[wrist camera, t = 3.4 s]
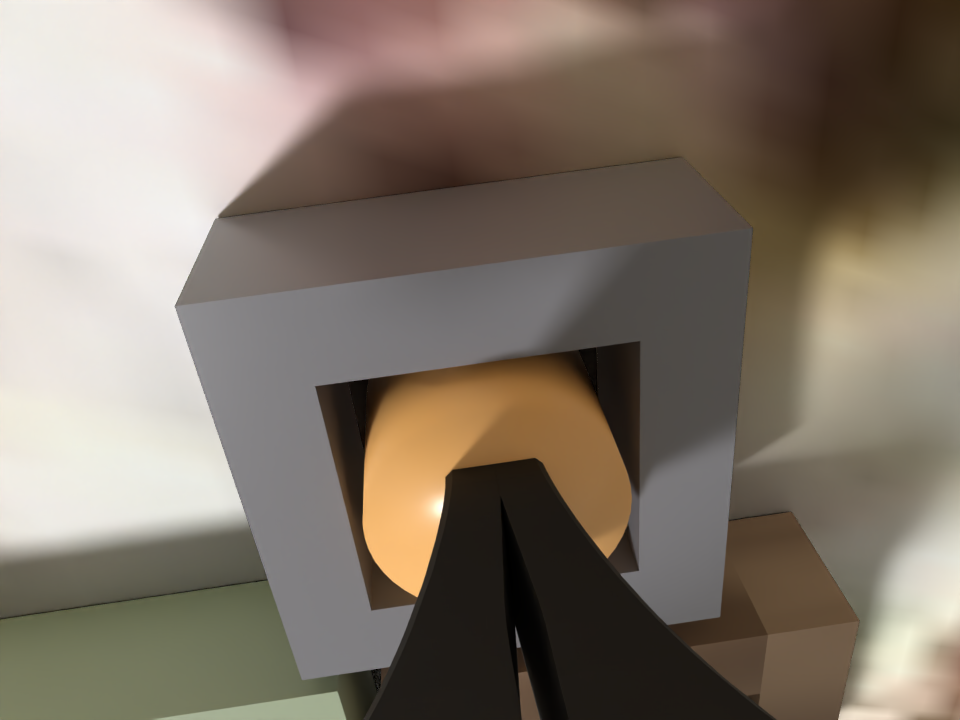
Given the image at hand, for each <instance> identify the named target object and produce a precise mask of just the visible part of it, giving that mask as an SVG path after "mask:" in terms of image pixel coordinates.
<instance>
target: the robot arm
mask: <svg viewBox="0 0 960 720" xmlns="http://www.w3.org/2000/svg"><path fill="white" fill-rule="evenodd" d="M515 627H516V629H515ZM516 631H517V634H518V638H519V642H520V646H521V650H522V653H523V657H524V661H525V665H526V668H527V672H528V676H529V680H530V684H531V687H532V691H533V695H534V698H535V702H536V706H537V710H538V713H539V717H540V720H777V719H775V718H774V717H773V716H772V715H770V714H769V713H768V712H767V711H765V710H764V709H763V708H761V707H760V706H759V705H758V704H756V703H755V702H754V701H753V700H751V699H750V698H749V697H748V696H746V695H745V694H744V693H743V692H741V691H740V690H739V689H738V688H736V687H735V686H734V685H733V684H731V683H730V682H729V681H728V680H726V679H725V678H724V677H723V676H722V675H721V674H719V673H718V672H717V671H716V670H715V669H714V668H713V667H712V666H711V665H709V664H708V663H707V662H706V661H705V660H704V659H703V658H702V657H701V656H699V655H698V654H697V653H696V652H695V651H694V650H693V649H692V648H691V647H690V646H689V645H687V644H686V643H685V642H684V641H683V640H682V639H681V638H680V637H679V636H678V635H677V634H676V633H675V632H674V631H673V630H672V629H671V628H670V627H669V626H668V625H667V624H666V623H665V622H664V621H663V620H662V619H661V618H660V617H659V616H658V615H657V614H656V613H655V612H654V611H653V610H652V609H651V608H650V607H649V606H648V605H647V603H646V602H645V601H644V600H643V599H642V598H641V597H640V596H639V595H638V594H637V592H636V591H635V590H634V589H633V588H632V587H631V586H630V585H629V584H628V582H627V581H626V580H625V579H624V578H623V577H622V576H621V574H620V573H619V572H618V571H617V570H616V568H615V567H614V566H613V565H612V564H611V563H610V561H609V560H608V559H607V558H606V556H605V555H604V554H603V552H602V551H601V550H600V549H599V547H598V546H597V545H596V544H595V542H594V541H593V540H592V538H591V537H590V536H589V535H588V533H587V532H586V531H585V529H584V528H583V527H582V525H581V524H580V522H579V521H578V520H577V518H576V517H575V515H574V514H573V512H572V511H571V510H570V508H569V507H568V505H567V504H566V502H565V501H564V499H563V498H562V496H561V494H560V493H559V491H558V490H557V488H556V486H555V485H554V483H553V481H552V480H551V478H550V476H549V474H548V472H547V470H546V468H545V466H544V464H543V463H542V462H541V461H539V460H538V459H536V458H530V459H523V460H517V461H510V462H503V463H496V464H489V465H482V466H475V467H468V468H461V469H454V470H452V471H451V472H450V473H449V474H448V475H447V476H446V477H445V494H444V502H443V508H442V513H441V518H440V523H439V527H438V531H437V536H436V540H435V543H434V547H433V550H432V554H431V557H430V561H429V564H428V567H427V571H426V574H425V578H424V581H423V584H422V587H421V590H420V592H419V595H418V598H417V600H416V603H415V606H414V608H413V611H412V614H411V617H410V619H409V622H408V625H407V627H406V630H405V633H404V635H403V637H402V640H401V642H400V645H399V647H398V649H397V652H396V654H395V656H394V658H393V661H392V663H391V665H390V667H389V669H388V672H387V674H386V676H385V678H384V680H383V682H382V684H381V686H380V688H379V691H378V693H377V695H376V697H375V699H374V700H373V702H372V704H371V706H370V708H369V710H368V712H367V714H366V716H365V718H364V719H363V720H522V717H521V704H520V689H519V674H518V659H517V644H516Z"/></svg>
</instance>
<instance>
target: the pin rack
mask: <svg viewBox="0 0 960 720" xmlns="http://www.w3.org/2000/svg"><path fill="white" fill-rule="evenodd" d="M376 695H377V690H376V686H375V683H374V679H373V675H372V671H371V670H366V671H360V672H353V673H347V674H340V675H333V676H327V677H320V678H313V679H307V680H302V679H301V676H300V673H299V670H298V667H297V664H296V661H295V658H294V655H293V652H292V649H291V646H290V643H289V641H288V638H287V635H286V632H285V629H284V626H283V623H282V620H281V617H280V614H279V611H278V608H277V605H276V602H275V599H274V596H273V593H272V591H271V588H270V585H269V582H268V580H266V581H259V582H252V583H246V584H239V585H232V586H225V587H218V588H211V589H205V590H198V591H191V592H184V593H177V594H171V595H164V596H157V597H150V598H143V599H137V600H130V601H123V602H116V603H109V604H102V605H96V606H89V607H82V608H75V609H68V610H62V611H55V612H48V613H41V614H34V615H27V616H21V617H14V618H7V619H0V720H363V719H364V718H365V716H366V714H367V712H368V710H369V708H370V706H371V704H372V702H373V700H374V699H375V697H376Z"/></svg>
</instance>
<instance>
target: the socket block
mask: <svg viewBox="0 0 960 720" xmlns="http://www.w3.org/2000/svg"><path fill="white" fill-rule="evenodd" d="M859 622H860V621H859V619H858V617H857V616H856V614H855V613H854V611H853V609H852V608H851V606H850V605H849V603H848V601H847V600H846V598H845V597H844V595H843V593H842V592H841V590H840V589H839V587H838V585H837V584H836V582H835V581H834V579H833V577H832V576H831V574H830V573H829V571H828V569H827V568H826V566H825V564H824V563H823V561H822V560H821V558H820V556H819V555H818V553H817V552H816V550H815V548H814V547H813V545H812V544H811V542H810V540H809V539H808V537H807V536H806V534H805V532H804V531H803V529H802V528H801V526H800V524H799V523H798V521H797V520H796V518H795V516H794V515H793V513H792V512H787V513H780V514H773V515H766V516H759V517H753V518H746V519H739V520H732V521H728V531H727V542H726V554H725V566H724V578H723V590H722V602H721V614H720V617H717V618H711V619H704V620H698V621H691V622H684V623H678V624H671V625H668V626H669V627H670V628H671V629H672V630H673V631H674V632H675V633H676V634H677V635H678V636H679V637H680V638H681V639H682V640H683V641H684V642H685V643H686V644H687V645H689V646H690V647H691V648H692V649H693V650H694V651H695V652H696V653H697V654H698V655H699V656H701V657H702V658H703V659H704V660H705V661H706V662H707V663H708V664H709V665H711V666H712V667H713V668H714V669H715V670H716V671H717V672H718V673H719V674H721V675H722V676H723V677H724V678H725V679H726V680H728V681H729V682H730V683H731V684H733V685H734V686H735V687H736V688H738V689H739V690H740V691H741V692H743V693H744V694H745V695H746V696H748V697H749V698H750V699H751V700H753V701H754V702H755V703H756V704H758V705H759V706H760V707H761V708H763V709H764V710H765V711H767V712H768V713H769V714H770V715H772V716H773V717H774V718H775V719H777V720H838V717H839V713H840V708H841V704H842V699H843V695H844V690H845V686H846V681H847V676H848V672H849V667H850V663H851V658H852V654H853V649H854V645H855V640H856V636H857V631H858V627H859ZM517 659H518V674H519V689H520V704H521V717H522V720H540V717H539V713H538V710H537V706H536V702H535V698H534V695H533V691H532V687H531V684H530V680H529V676H528V672H527V668H526V665H525V661H524V657H523V653H522V650H521V647H519V648H517ZM388 669H389V667H386V668H381V684H382V682H383V680H384V678H385V676H386V674H387V672H388Z"/></svg>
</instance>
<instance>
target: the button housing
mask: <svg viewBox="0 0 960 720" xmlns="http://www.w3.org/2000/svg"><path fill="white" fill-rule="evenodd" d="M752 235H753V228H752V227H751V226H750V225H749V224H748V223H747V222H746V221H745V220H744V219H743V218H742V217H741V216H740V215H739V214H738V213H737V212H736V211H735V210H734V209H733V208H732V207H731V206H730V204H729V203H728V202H727V201H726V200H725V199H724V198H723V197H722V196H721V195H720V194H719V193H718V192H717V191H716V190H715V189H714V188H713V187H712V186H711V185H710V184H709V183H708V182H707V181H706V180H705V179H704V178H703V177H702V176H701V175H700V174H699V173H698V172H697V171H696V170H695V169H694V168H693V167H692V166H691V165H690V164H689V163H688V162H687V161H686V160H685V159H684V158H683V157H679V158H672V159H664V160H657V161H649V162H642V163H634V164H626V165H619V166H611V167H604V168H596V169H588V170H581V171H573V172H566V173H558V174H551V175H543V176H535V177H528V178H520V179H513V180H505V181H498V182H490V183H482V184H475V185H467V186H460V187H452V188H444V189H437V190H429V191H422V192H414V193H407V194H399V195H391V196H384V197H376V198H369V199H361V200H353V201H346V202H338V203H331V204H323V205H316V206H308V207H300V208H293V209H285V210H278V211H270V212H263V213H255V214H247V215H240V216H232V217H225V218H217V219H215V221H214V223H213V225H212V227H211V229H210V231H209V234H208V236H207V238H206V240H205V242H204V244H203V247H202V249H201V251H200V253H199V255H198V257H197V259H196V262H195V264H194V266H193V268H192V270H191V272H190V275H189V277H188V279H187V281H186V283H185V285H184V288H183V290H182V292H181V294H180V296H179V298H178V300H177V303H176V305H175V308H176V311H177V314H178V317H179V320H180V323H181V326H182V329H183V332H184V335H185V338H186V341H187V344H188V347H189V350H190V352H191V355H192V358H193V361H194V364H195V367H196V370H197V373H198V376H199V379H200V382H201V385H202V388H203V391H204V394H205V397H206V400H207V402H208V405H209V408H210V411H211V414H212V417H213V420H214V423H215V426H216V429H217V432H218V435H219V438H220V441H221V444H222V447H223V449H224V452H225V455H226V458H227V461H228V464H229V467H230V470H231V473H232V476H233V479H234V482H235V485H236V488H237V491H238V494H239V497H240V499H241V502H242V505H243V508H244V511H245V514H246V517H247V520H248V523H249V526H250V529H251V532H252V535H253V538H254V541H255V544H256V546H257V549H258V552H259V555H260V558H261V561H262V564H263V567H264V570H265V573H266V576H267V579H268V582H269V585H270V588H271V591H272V593H273V596H274V599H275V602H276V605H277V608H278V611H279V614H280V617H281V620H282V623H283V626H284V629H285V632H286V635H287V638H288V641H289V643H290V646H291V649H292V652H293V655H294V658H295V661H296V664H297V667H298V670H299V673H300V676H301V679H302V680H307V679H313V678H320V677H327V676H333V675H340V674H347V673H353V672H360V671H366V670H373V669H380V668H386V667H390V665H391V663H392V661H393V658H394V656H395V654H396V652H397V649H398V647H399V645H400V642H401V640H402V637H403V635H404V633H405V630H406V627H407V625H408V622H409V619H410V617H411V614H412V611H413V608H414V606H415V603H416V600H417V598H418V597H416V596H414V595H412V594H411V593H409V592H407V591H405V590H404V589H402V588H401V587H400V586H398V585H397V584H395V583H394V582H393V581H392V580H391V579H390V578H389V577H388V576H387V575H386V574H385V573H384V572H383V571H382V570H381V569H380V567H379V566H378V565H377V563H376V562H375V561H374V559H373V557H372V555H371V553H370V551H369V549H368V546H367V543H366V540H365V537H364V530H363V492H364V460H365V454H364V450H363V446H362V441H361V437H360V432H359V428H358V423H357V419H356V414H355V410H354V405H353V401H352V396H351V392H350V387H349V383H348V382H349V381H357V380H364V379H371V378H378V377H385V376H392V375H400V374H407V373H414V372H421V371H428V370H436V369H443V368H450V367H457V366H464V365H471V364H479V363H486V362H493V361H500V360H507V359H515V358H522V357H529V356H536V355H543V354H550V353H558V352H565V351H572V350H579V349H586V348H594V347H596V348H597V384H598V400H599V402H600V405H601V407H602V410H603V412H604V415H605V417H606V420H607V422H608V425H609V427H610V430H611V433H612V435H613V438H614V440H615V443H616V445H617V448H618V450H619V453H620V455H621V458H622V460H623V463H624V465H625V468H626V470H627V473H628V477H629V481H630V484H631V494H632V503H631V513H630V516H629V520H628V524H627V527H626V529H625V532H624V534H623V536H622V538H621V540H620V542H619V543H618V545H617V547H616V548H615V550H614V551H613V552H612V553H611V555H610V556H609V557H608V560H609V561H610V563H611V564H612V565H613V566H614V567H615V568H616V570H617V571H618V572H619V573H620V574H621V576H622V577H623V578H624V579H625V580H626V581H627V582H628V584H629V585H630V586H631V587H632V588H633V589H634V590H635V591H636V592H637V594H638V595H639V596H640V597H641V598H642V599H643V600H644V601H645V602H646V603H647V605H648V606H649V607H650V608H651V609H652V610H653V611H654V612H655V613H656V614H657V615H658V616H659V617H660V618H661V619H662V620H663V621H664V622H665V623H666V624H667V625H671V624H678V623H684V622H691V621H698V620H704V619H711V618H717V617H720V614H721V602H722V590H723V578H724V566H725V554H726V542H727V531H728V519H729V507H730V495H731V483H732V471H733V460H734V448H735V436H736V424H737V412H738V400H739V389H740V377H741V365H742V353H743V341H744V329H745V318H746V306H747V294H748V282H749V270H750V258H751V247H752ZM515 629H516V627H515ZM516 644H517V648H519V647H521V646H520V642H519V638H518V634H517V631H516Z"/></svg>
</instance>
